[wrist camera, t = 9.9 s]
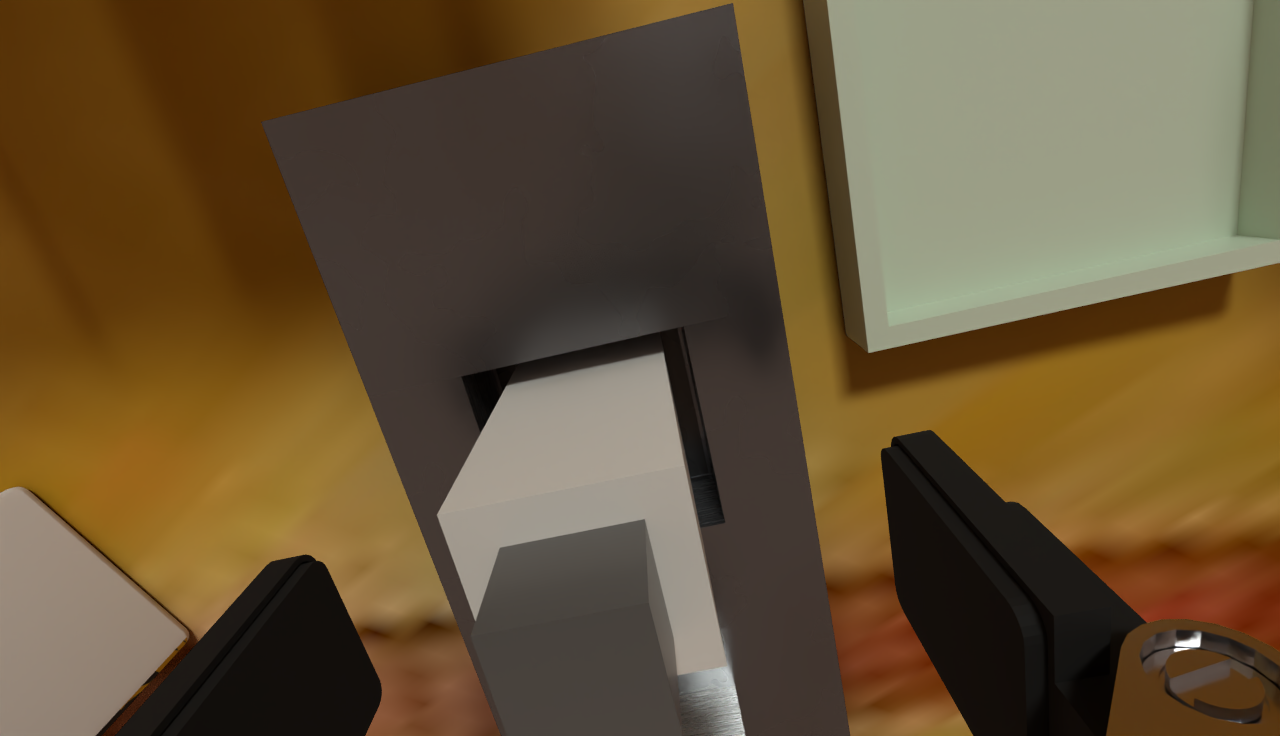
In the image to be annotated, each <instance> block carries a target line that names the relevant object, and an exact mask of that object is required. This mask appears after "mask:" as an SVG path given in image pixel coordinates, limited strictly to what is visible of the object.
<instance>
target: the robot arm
mask: <svg viewBox="0 0 1280 736" xmlns="http://www.w3.org/2000/svg"><path fill="white" fill-rule="evenodd" d="M881 461H882V470H883V479H884V488H885V497H886V506H887V515H888V524H889V533H890V542H891V551H892V560H893V568H894V577H895V586H896V591H897V595H898V599H899V602H900V604H901V607H902V609H903V611H904V613H905V615H906V617H907V619H908V620H909V622H910V624H911V626H912V627H913V629H914V631H915V633H916V635H917V636H918V638H919V640H920V642H921V643H922V645H923V647H924V649H925V651H926V652H927V654H928V656H929V658H930V659H931V661H932V663H933V665H934V667H935V668H936V670H937V672H938V674H939V675H940V677H941V679H942V681H943V682H944V684H945V686H946V688H947V690H948V691H949V693H950V695H951V697H952V698H953V700H954V702H955V704H956V706H957V707H958V709H959V711H960V713H961V714H962V716H963V718H964V720H965V722H966V723H967V725H968V727H969V729H970V730H971V732H972V734H973V736H1280V652H1279V651H1277V650H1276V649H1275V648H1273V647H1271V646H1269V645H1267V644H1265V643H1263V642H1261V641H1259V640H1257V639H1255V638H1253V637H1251V636H1249V635H1247V634H1245V633H1242V632H1239V631H1236V630H1233V629H1229V628H1226V627H1223V626H1220V625H1217V624H1213V623H1207V622H1200V621H1194V620H1188V619H1164V620H1158V621H1154V622H1150V623H1146V622H1145V621H1144V620H1143V619H1142V618H1141V617H1140V616H1139V615H1138V614H1137V613H1136V612H1135V611H1134V610H1133V609H1132V608H1131V607H1130V606H1128V605H1127V604H1126V603H1125V602H1124V601H1123V600H1122V599H1121V598H1120V597H1119V596H1118V595H1117V594H1116V593H1115V592H1114V591H1113V590H1112V589H1110V588H1109V587H1108V586H1107V585H1106V584H1105V583H1104V582H1103V581H1102V580H1101V579H1100V578H1099V577H1098V576H1097V575H1096V574H1095V573H1094V572H1092V571H1091V570H1090V569H1089V568H1088V567H1087V566H1086V565H1085V564H1084V563H1083V562H1082V561H1081V560H1080V559H1079V558H1078V557H1077V556H1076V555H1074V554H1073V553H1072V552H1071V551H1070V550H1069V549H1068V548H1067V547H1066V546H1065V545H1064V544H1063V543H1062V542H1061V541H1060V540H1059V539H1058V538H1056V537H1055V536H1054V535H1053V534H1052V533H1051V532H1050V531H1049V530H1048V529H1047V528H1046V527H1045V526H1044V525H1043V524H1042V523H1041V522H1040V521H1038V520H1037V519H1036V518H1035V517H1034V516H1033V515H1032V514H1031V513H1030V512H1029V511H1028V510H1027V509H1026V508H1024V507H1023V506H1022V505H1020V504H1019V503H1016V502H1005V501H1004V500H1003V499H1002V498H1001V497H999V496H998V495H997V494H996V493H995V492H994V491H993V490H992V489H991V488H990V487H989V486H988V485H987V484H986V483H985V482H984V481H983V480H982V479H981V478H980V477H979V476H978V475H977V474H976V473H975V472H974V471H973V470H972V469H971V468H970V467H969V466H968V465H967V464H966V463H965V462H964V461H963V460H962V459H961V458H960V457H959V456H958V455H957V454H956V453H955V452H954V451H953V450H952V449H951V448H949V447H948V446H947V445H946V444H945V443H944V442H943V441H942V440H941V439H940V438H939V437H938V436H937V435H936V434H935V433H934V432H933V431H931V430H927V431H922V432H917V433H912V434H907V435H902V436H897V437H893V439H892V442H891V447H889V448H884V449H882V451H881ZM381 696H382V688H381V683H380V680H379V677H378V675H377V673H376V671H375V669H374V667H373V665H372V663H371V660H370V658H369V656H368V654H367V652H366V650H365V648H364V646H363V643H362V641H361V639H360V637H359V635H358V633H357V631H356V629H355V626H354V624H353V622H352V620H351V618H350V616H349V614H348V612H347V609H346V607H345V605H344V603H343V601H342V599H341V597H340V595H339V592H338V590H337V588H336V586H335V584H334V582H333V580H332V578H331V575H330V573H329V571H328V569H327V567H326V566H325V564H323V563H322V562H320V561H316V560H315V559H314V558H313V557H312V556H310V555H301V556H296V557H291V558H286V559H281V560H276V561H272V562H270V563H269V564H268V565H267V566H266V567H265V568H264V569H263V570H262V571H261V572H260V573H259V574H258V576H257V577H256V578H255V579H254V580H253V581H252V582H251V583H250V585H249V586H248V587H247V588H246V589H245V590H244V591H243V592H242V594H241V595H240V596H239V597H238V598H237V599H236V600H235V601H234V603H233V604H232V605H231V606H230V607H229V608H228V609H227V610H226V611H225V613H224V614H223V615H222V616H221V617H220V618H219V619H218V620H217V622H216V623H215V624H214V625H213V626H212V627H211V628H210V629H209V631H208V632H207V633H206V634H205V635H204V636H203V637H202V638H201V640H200V641H199V642H198V643H197V644H196V645H195V646H194V647H193V649H192V650H191V651H190V652H189V653H188V654H187V655H186V656H185V658H184V659H183V660H182V661H181V662H180V663H179V664H178V665H177V666H176V668H175V669H174V670H173V671H172V672H171V673H170V674H169V675H168V677H167V678H166V679H165V680H164V681H163V682H162V683H161V684H160V686H159V687H158V688H157V689H156V690H155V691H154V692H153V693H152V695H151V696H150V697H149V698H148V699H147V700H146V701H145V702H144V704H143V705H142V706H141V707H140V708H139V709H138V710H137V711H136V713H135V714H134V715H133V716H132V717H131V718H130V719H129V720H128V721H127V723H126V724H125V725H124V726H123V727H122V728H121V729H120V730H119V732H118V733H117V734H116V735H115V736H365V735H366V733H367V730H368V728H369V726H370V724H371V722H372V720H373V718H374V715H375V713H376V711H377V709H378V707H379V704H380V701H381Z"/></svg>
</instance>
